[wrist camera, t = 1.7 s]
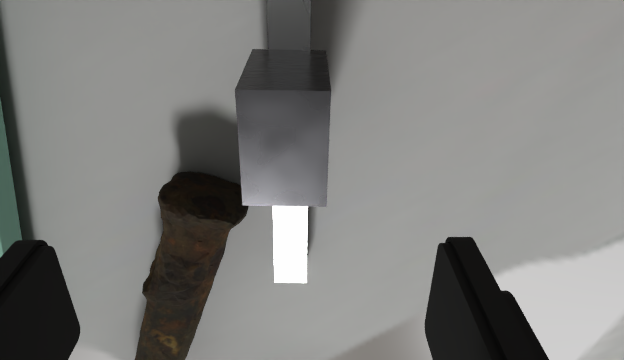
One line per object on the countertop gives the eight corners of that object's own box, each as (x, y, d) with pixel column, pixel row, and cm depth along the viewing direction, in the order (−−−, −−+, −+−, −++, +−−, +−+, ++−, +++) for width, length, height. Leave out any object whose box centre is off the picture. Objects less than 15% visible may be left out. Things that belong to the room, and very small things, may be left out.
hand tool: (177, 155, 28) (149, 206, 23) (254, 182, 29) (242, 236, 24) (109, 387, 38) (80, 456, 33) (167, 402, 39) (147, 471, 34)
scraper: (331, -190, 20) (344, -253, 13) (317, 257, 32) (320, 361, 24) (249, -192, 20) (212, -256, 12) (266, 256, 32) (252, 361, 24)
